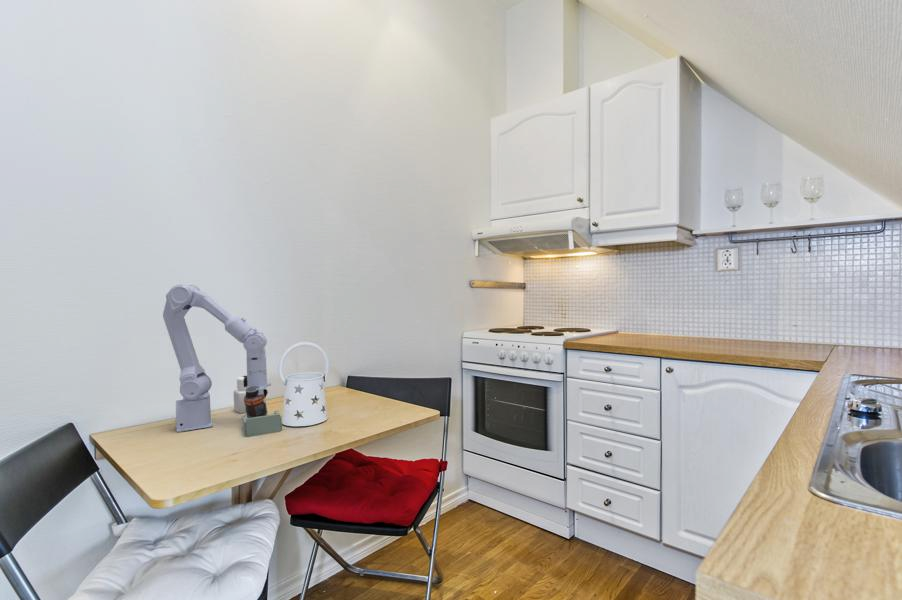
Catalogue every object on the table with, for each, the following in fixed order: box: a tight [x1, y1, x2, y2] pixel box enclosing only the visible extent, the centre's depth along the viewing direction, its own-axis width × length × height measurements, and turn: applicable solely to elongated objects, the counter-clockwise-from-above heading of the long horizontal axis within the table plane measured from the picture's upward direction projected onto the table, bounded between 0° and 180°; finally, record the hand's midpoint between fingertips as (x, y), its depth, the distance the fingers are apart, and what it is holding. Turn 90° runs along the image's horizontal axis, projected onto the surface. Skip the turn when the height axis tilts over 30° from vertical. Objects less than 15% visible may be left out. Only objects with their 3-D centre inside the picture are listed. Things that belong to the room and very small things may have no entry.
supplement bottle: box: [244, 386, 269, 418], centre depth 139 cm, size 6×6×11 cm
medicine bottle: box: [233, 375, 248, 415], centre depth 158 cm, size 7×7×12 cm
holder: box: [242, 410, 283, 438], centre depth 134 cm, size 10×10×5 cm
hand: (258, 413), depth 143 cm, fingers closed
